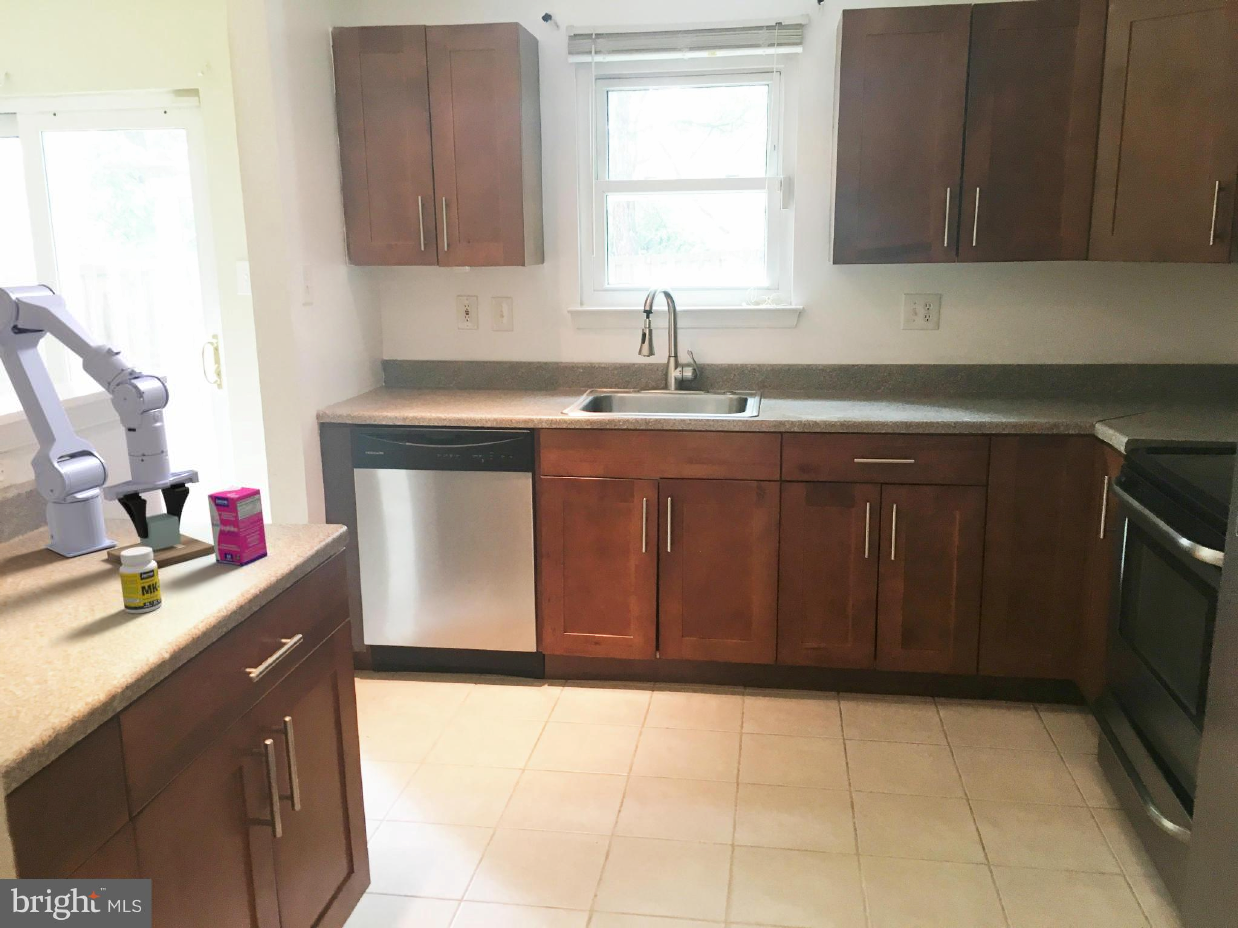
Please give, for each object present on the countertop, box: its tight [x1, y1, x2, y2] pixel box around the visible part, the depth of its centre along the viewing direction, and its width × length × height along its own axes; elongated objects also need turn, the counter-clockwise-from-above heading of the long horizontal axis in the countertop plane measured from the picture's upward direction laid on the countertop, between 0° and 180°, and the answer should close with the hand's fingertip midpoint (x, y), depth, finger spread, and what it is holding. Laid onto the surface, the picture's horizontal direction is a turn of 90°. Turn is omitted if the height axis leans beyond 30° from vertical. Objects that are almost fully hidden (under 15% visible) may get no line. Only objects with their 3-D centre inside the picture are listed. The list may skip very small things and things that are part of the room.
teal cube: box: [139, 512, 181, 550], centre depth 154 cm, size 4×4×4 cm
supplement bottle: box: [118, 547, 163, 614], centre depth 131 cm, size 5×5×8 cm
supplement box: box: [207, 485, 268, 567], centre depth 151 cm, size 6×6×12 cm
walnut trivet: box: [106, 533, 215, 569], centre depth 155 cm, size 12×12×1 cm
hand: (159, 533), depth 154 cm, fingers closed on teal cube, 4 cm apart
